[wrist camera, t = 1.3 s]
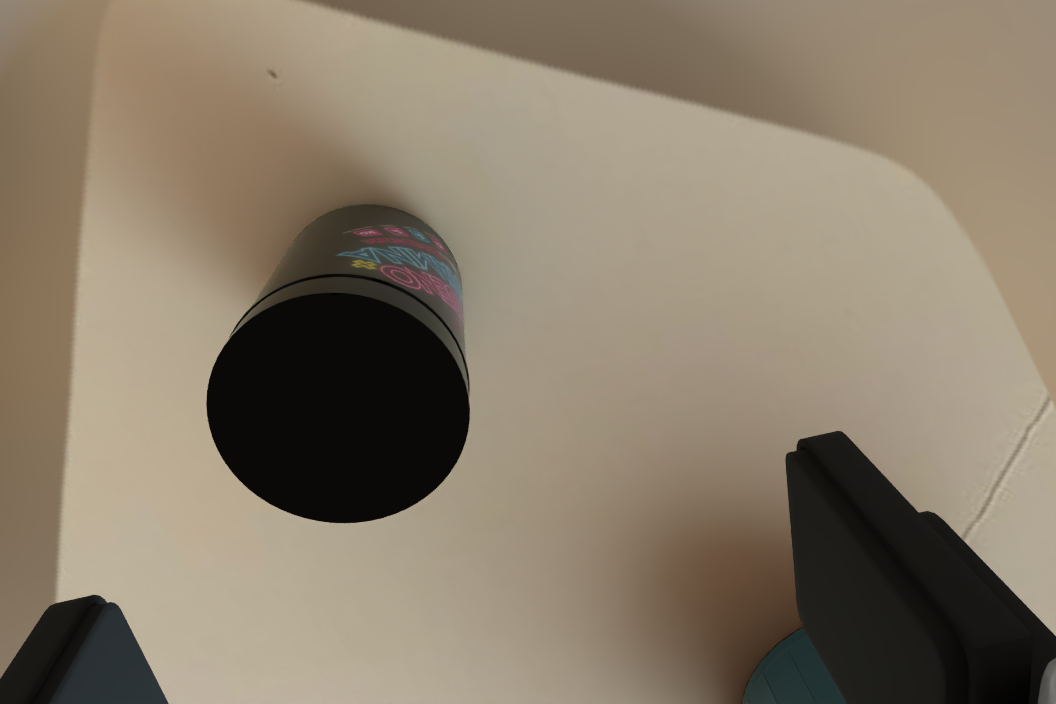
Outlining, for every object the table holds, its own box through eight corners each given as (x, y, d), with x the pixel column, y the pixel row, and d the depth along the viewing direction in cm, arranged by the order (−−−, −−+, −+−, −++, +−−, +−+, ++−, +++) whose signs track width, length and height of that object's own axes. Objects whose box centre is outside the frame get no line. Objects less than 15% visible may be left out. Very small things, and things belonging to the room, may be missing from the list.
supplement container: (463, 369, 32) (469, 521, 23) (288, 370, 32) (220, 526, 22) (464, 200, 30) (472, 292, 20) (274, 196, 29) (189, 290, 20)
